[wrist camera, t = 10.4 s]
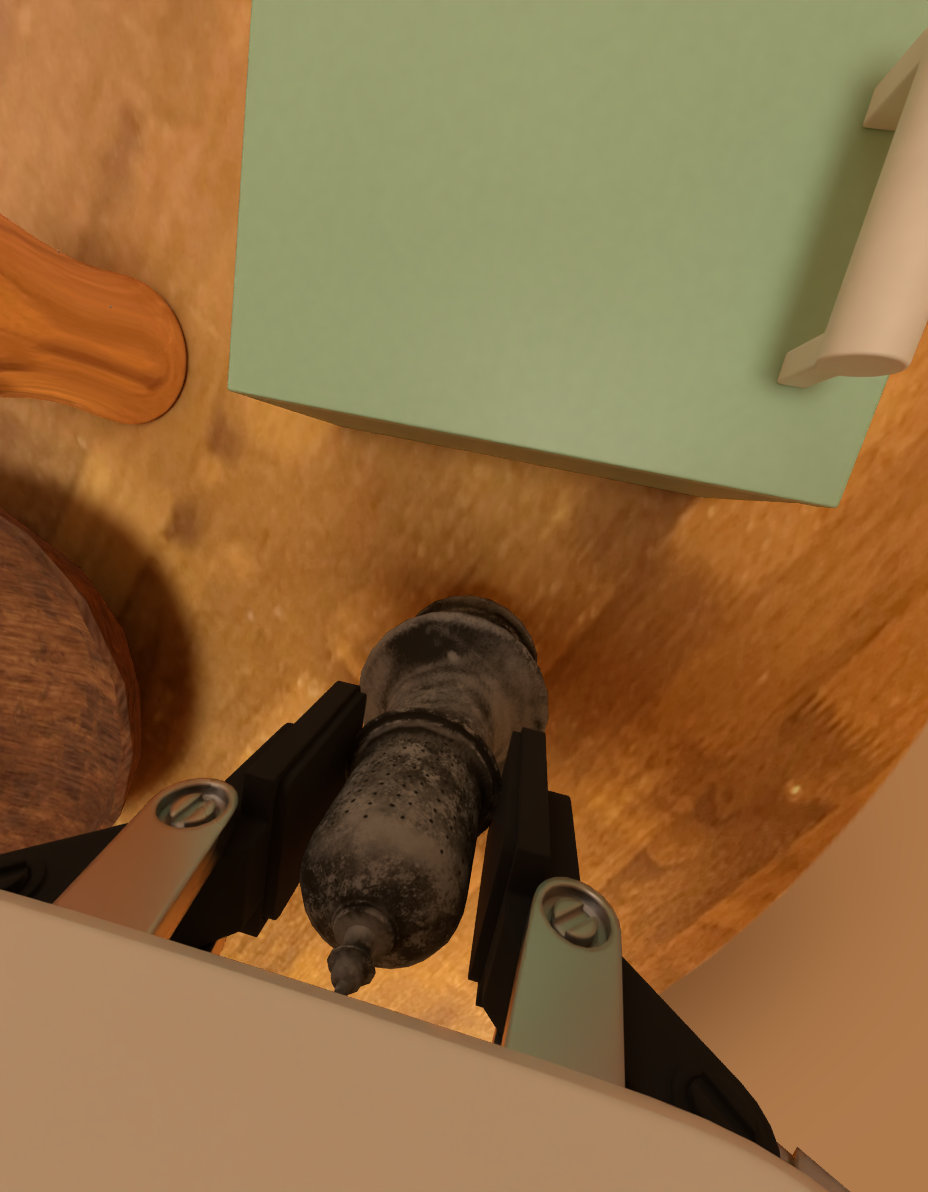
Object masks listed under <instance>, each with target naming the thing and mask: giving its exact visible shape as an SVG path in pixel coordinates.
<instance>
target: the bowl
mask: <svg viewBox="0 0 928 1192" xmlns="http://www.w3.org/2000/svg"><path fill="white" fill-rule="evenodd" d="M141 755H142V749H141V712H140V688H139V684H138V681H137V677H136V674H135V670H134V666H133V663H132V659H131V655H130V652H129V648H128V644H127V641H126V637H125V633H124V630H123V629H122V627H121V626H120V624H119V623H118V621H117V620H116V618H115V617H114V615H113V614H112V612H111V611H110V609H109V608H108V606H107V605H106V603H105V602H104V600H103V599H102V597H101V596H100V594H99V593H98V591H97V590H96V589H95V587H94V586H93V585H92V583H91V582H90V581H89V579H88V578H87V577H86V575H85V574H84V573H83V571H82V570H81V569H80V567H79V566H78V565H76V564H75V563H74V562H72V561H71V560H70V559H68V558H67V557H66V556H64V555H63V554H62V553H60V552H59V551H58V550H56V549H55V548H54V547H52V546H51V545H50V544H48V543H47V542H46V541H44V540H43V539H42V538H40V537H39V536H38V535H36V534H35V533H34V532H32V531H31V530H30V529H28V528H27V527H25V526H24V525H23V524H21V523H20V522H19V521H17V520H16V519H15V518H13V517H12V516H11V515H9V514H8V513H7V512H5V511H4V510H3V509H1V508H0V854H3V853H7V852H11V851H15V850H19V849H23V848H28V847H32V846H36V845H40V844H44V843H48V842H52V841H56V840H60V839H64V838H69V837H73V836H77V835H81V834H85V833H89V832H93V831H97V830H101V829H105V828H110V827H112V826H113V824H114V823H115V821H116V820H117V819H118V817H119V816H120V814H121V812H122V809H123V806H124V803H125V800H126V797H127V795H128V792H129V789H130V786H131V783H132V780H133V778H134V775H135V772H136V769H137V766H138V763H139V761H140V758H141Z"/></svg>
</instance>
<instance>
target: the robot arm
mask: <svg viewBox="0 0 928 1192" xmlns="http://www.w3.org/2000/svg"><path fill="white" fill-rule="evenodd" d="M366 701H367V694H366V693H362V692H361V687H360V686H358V685H354V684H350V683H346V682H342V681H337V682H336V683H335V684H334V685H333V686H332V687H331V688H330V689H329V690H328V691H327V692H326V693H325V694H324V695H323V696H322V697H321V698H320V699H319V700H318V701H317V702H316V703H315V704H314V705H313V706H312V707H311V708H310V709H309V710H308V711H307V712H306V713H305V714H303V715H302V716H301V717H300V718H299V719H298V720H297V721H296V722H295V723H294V724H293V723H286V724H285V725H284V726H282V727H281V728H280V729H279V730H278V731H277V732H276V733H275V734H274V735H273V736H272V737H271V738H270V739H269V740H268V741H267V742H265V743H264V744H263V745H262V746H261V747H260V748H259V749H258V750H257V751H256V752H255V753H254V754H253V755H252V756H251V757H250V758H249V759H248V760H246V761H245V762H244V763H243V764H242V765H241V766H240V767H239V768H238V769H237V770H236V771H235V772H234V773H233V774H232V775H231V776H230V777H229V778H228V779H226V780H225V781H221V780H217V779H212V778H197V779H189V780H185V781H182V782H178V783H175V784H173V785H171V786H169V787H167V788H165V789H163V790H161V791H160V792H159V793H158V794H157V795H155V796H154V797H153V798H152V799H151V800H150V801H149V802H148V803H147V804H146V805H145V806H144V807H143V808H142V809H141V810H140V811H139V813H138V814H137V815H136V816H135V817H134V818H133V819H132V820H131V821H130V822H129V823H126V824H122V825H118V826H114V827H110V828H105V829H101V830H97V831H93V832H89V833H85V834H81V835H77V836H73V837H69V838H64V839H60V840H56V841H52V842H48V843H44V844H40V845H36V846H32V847H28V848H23V849H19V850H15V851H11V852H7V853H3V854H0V1192H850V1191H849V1190H847V1189H846V1188H845V1187H844V1186H843V1185H842V1184H840V1183H839V1182H838V1181H837V1180H836V1179H835V1178H833V1177H832V1176H831V1175H830V1174H829V1173H827V1172H826V1171H825V1170H824V1169H823V1168H822V1167H820V1166H819V1165H818V1164H817V1163H816V1162H814V1161H813V1160H812V1159H811V1158H810V1157H809V1156H807V1155H806V1154H805V1153H804V1152H803V1151H802V1150H800V1149H799V1148H798V1147H797V1148H796V1150H795V1152H794V1154H793V1155H791V1154H790V1153H789V1152H788V1151H787V1150H786V1149H784V1148H783V1147H782V1146H781V1145H780V1144H779V1143H778V1142H776V1139H775V1137H774V1134H773V1131H772V1128H771V1126H770V1124H769V1122H768V1121H767V1119H766V1117H765V1115H764V1114H763V1112H762V1110H761V1108H760V1107H759V1105H758V1103H757V1102H756V1101H755V1100H754V1098H753V1097H752V1096H751V1095H750V1093H749V1092H748V1091H747V1090H746V1089H745V1087H744V1086H743V1085H742V1083H741V1082H740V1081H739V1080H738V1079H737V1078H736V1077H735V1076H734V1075H733V1074H732V1073H731V1072H730V1071H729V1070H728V1068H727V1067H726V1066H725V1065H724V1064H723V1063H722V1062H721V1061H720V1060H719V1059H718V1058H717V1057H716V1056H715V1055H714V1054H713V1052H712V1051H711V1050H710V1049H709V1048H708V1047H707V1046H706V1045H705V1044H704V1043H703V1042H702V1041H701V1040H700V1039H699V1038H698V1036H697V1035H696V1034H695V1033H694V1032H693V1031H692V1030H691V1029H690V1028H689V1027H688V1026H687V1025H686V1024H685V1023H684V1022H683V1021H682V1019H681V1018H680V1017H679V1016H678V1015H677V1014H676V1013H675V1012H674V1011H673V1010H672V1009H671V1008H670V1007H669V1006H668V1005H667V1004H666V1002H664V1000H663V999H662V998H661V997H660V996H659V995H658V994H657V993H656V992H655V991H654V990H653V989H652V988H651V986H650V985H649V984H648V983H647V982H646V981H645V980H644V979H643V978H642V977H641V976H640V975H639V974H638V973H637V972H636V971H635V969H634V968H633V967H632V966H631V965H630V964H629V963H628V962H627V961H626V960H625V959H624V958H623V957H622V947H621V929H620V924H619V920H618V918H617V916H616V914H615V912H614V910H613V908H612V907H611V905H610V904H609V903H608V902H607V901H606V899H605V898H604V897H603V896H602V895H601V894H599V893H598V892H597V891H596V890H595V889H593V888H592V887H590V886H588V885H587V884H585V883H583V882H581V881H580V875H579V866H578V857H577V849H576V840H575V832H574V823H573V814H572V806H571V799H570V797H569V796H567V795H563V794H559V793H555V792H552V791H548V782H547V759H546V736H545V732H541V731H537V730H533V729H529V728H525V727H523V728H522V730H521V732H517V731H513V732H512V736H511V740H510V744H509V748H508V752H507V756H506V760H505V764H504V768H503V772H502V776H501V792H500V796H499V800H498V805H497V809H496V813H495V816H494V819H493V820H492V822H491V824H490V825H489V829H488V835H487V841H486V848H485V855H484V863H483V870H482V877H481V885H480V892H479V899H478V907H477V914H476V921H475V929H474V936H473V943H472V951H471V958H470V965H469V973H468V980H472V981H475V982H478V988H477V997H476V1006H480V1007H483V1008H484V1010H485V1011H486V1013H487V1014H488V1016H489V1018H490V1019H491V1021H492V1022H493V1024H494V1026H495V1027H496V1028H495V1032H494V1036H493V1040H492V1043H490V1042H487V1041H484V1040H481V1039H478V1038H475V1037H472V1036H469V1035H466V1034H463V1033H460V1032H457V1031H454V1030H450V1029H447V1028H444V1027H441V1026H438V1025H435V1024H432V1023H429V1022H426V1021H423V1020H420V1019H417V1018H414V1017H411V1016H407V1015H404V1014H401V1013H398V1012H395V1011H392V1010H389V1009H386V1008H383V1007H380V1006H376V1005H373V1004H370V1003H367V1002H364V1001H361V1000H358V999H355V998H351V997H348V996H345V995H342V994H339V993H336V992H333V991H329V990H326V989H323V988H320V987H317V986H314V985H311V984H307V983H304V982H301V981H298V980H295V979H292V978H289V977H285V976H282V975H279V974H276V973H273V972H270V971H266V970H263V969H260V968H257V967H254V966H251V965H248V964H244V963H241V962H238V961H235V960H232V959H229V958H225V957H222V956H220V954H221V952H222V950H223V947H224V944H225V941H226V938H227V936H229V935H232V934H234V933H236V932H242V933H245V934H248V935H251V936H254V937H257V936H258V935H259V933H260V931H261V930H262V928H263V927H264V925H265V923H266V922H267V920H268V918H269V919H272V920H276V919H277V918H278V917H279V916H280V914H281V913H282V911H283V909H284V908H285V906H286V904H287V903H288V901H289V899H290V898H291V896H292V894H293V893H294V891H295V889H296V887H297V886H298V884H299V882H300V881H299V879H300V871H301V863H302V860H303V856H304V853H305V850H306V848H307V845H308V843H309V841H310V839H311V837H312V835H313V833H314V831H315V830H316V828H317V827H318V825H319V824H320V822H321V820H322V819H323V817H324V816H325V814H326V813H327V811H328V809H329V808H330V806H331V805H332V803H333V802H334V800H335V798H336V797H337V795H338V794H339V792H340V791H341V789H342V788H343V786H344V784H345V783H346V776H345V770H346V763H347V756H348V751H349V748H350V746H351V743H352V741H353V739H354V737H355V736H356V734H357V733H358V732H359V731H360V730H361V729H362V727H363V720H364V714H365V707H366Z"/></svg>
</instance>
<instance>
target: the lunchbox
mask: <svg viewBox="0 0 928 1192" xmlns="http://www.w3.org/2000/svg"><path fill="white" fill-rule="evenodd" d="M248 397H249V396H248ZM250 398H254V399H257V400H260V401H263V402H266V403H269V404H272V405H276V406H279V407H282V408H285V409H288V410H291V411H294V412H297V413H301V414H304V415H307V416H310V417H313V418H316V419H319V420H323V421H326V422H329V423H332V424H335V425H338V426H343V427H348V428H353V429H358V430H363V431H368V432H373V433H378V434H383V435H388V436H393V437H399V438H404V439H409V440H414V441H419V442H424V443H429V444H434V445H439V446H444V447H449V448H454V449H460V450H465V451H470V452H475V453H480V454H485V455H490V456H495V457H500V458H505V459H510V460H515V461H521V462H526V463H531V464H536V465H541V466H546V467H551V468H556V469H561V470H566V471H571V472H576V473H582V474H587V475H592V476H597V477H602V478H607V479H612V480H617V481H622V482H627V483H632V484H637V485H643V486H648V487H653V488H658V489H663V490H668V491H673V492H678V493H683V494H688V495H693V496H698V497H704V498H717V499H735V500H753V501H770V502H788V503H795V502H790V501H785V500H780V499H775V498H770V497H764V496H759V495H754V494H749V493H744V492H739V491H733V490H728V489H723V488H718V487H713V486H708V485H703V484H697V483H692V482H687V481H682V480H677V479H672V478H667V477H661V476H656V475H651V474H646V473H641V472H636V471H630V470H625V469H620V468H615V467H610V466H605V465H600V464H594V463H589V462H584V461H579V460H574V459H569V458H564V457H558V456H553V455H548V454H543V453H538V452H533V451H527V450H522V449H517V448H512V447H507V446H502V445H497V444H491V443H486V442H481V441H476V440H471V439H466V438H461V437H455V436H450V435H445V434H440V433H435V432H430V431H424V430H419V429H414V428H409V427H404V426H399V425H394V424H388V423H383V422H378V421H373V420H368V419H363V418H358V417H352V416H347V415H342V414H337V413H332V412H327V411H322V410H316V409H311V408H306V407H301V406H296V405H291V404H285V403H280V402H275V401H270V400H265V399H260V398H255V397H250Z"/></svg>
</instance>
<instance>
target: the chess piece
mask: <svg viewBox="0 0 928 1192" xmlns="http://www.w3.org/2000/svg"><path fill="white" fill-rule="evenodd" d="M359 686H360V687H361V692H362V693H366V694H367V701H366V707H365V714H364V720H363V723H364V727H363V728H362V729H361V730H360V731H359V732H358V733H357V734H356V736H355V737H354V739H353V741H352V743H351V746H350V748H349V751H348V756H347V763H346V770H345V776H346V783H345V784H344V786H343V788H342V789H341V791H340V792H339V794H338V795H337V797H336V798H335V800H334V802H333V803H332V805H331V806H330V808H329V809H328V811H327V813H326V814H325V816H324V817H323V819H322V820H321V822H320V824H319V825H318V827H317V828H316V830H315V831H314V833H313V835H312V837H311V839H310V841H309V843H308V845H307V848H306V850H305V853H304V856H303V860H302V863H301V871H300V879H299V881H300V886H301V892H302V897H303V902H304V907H305V911H306V913H307V915H308V917H309V920H310V922H311V924H312V926H313V927H314V928H315V930H316V931H317V932H318V933H319V935H320V936H321V937H322V938H323V940H324V941H325V942H327V943H328V944H329V945H330V946H331V947H333V948H334V949H332V951H331V953H330V955H329V957H328V959H327V962H328V967H329V971H330V972H331V981H332V984H333V986H334V988H335V991H334V992H336V993H339V994H342V995H345V996H348V995H349V994H352V993H354V992H357V991H358V989H359V988H360V987H361V986H364V985H366V984H369V983H370V982H371V980H372V979H373V977H374V975H375V973H376V972H375V967H377V968H387V969H395V968H403V967H409V966H412V965H414V964H417V963H419V962H422V961H424V960H425V959H427V958H428V957H430V956H431V955H433V954H434V953H435V952H437V951H438V950H439V949H440V948H442V947H443V946H444V945H445V944H447V943H448V941H449V940H450V938H451V937H452V935H453V934H454V932H455V930H456V929H457V927H458V925H459V922H460V920H461V918H462V916H463V913H464V909H465V905H466V900H467V896H468V890H469V883H470V877H471V871H472V865H473V859H474V853H475V847H476V840H477V837H478V836H479V835H480V834H482V833H483V832H484V831H485V830H486V829H487V828H488V827H489V825H490V824H491V822H492V820H493V819H494V816H495V813H496V809H497V805H498V800H499V796H500V792H501V776H502V772H503V768H504V764H505V760H506V756H507V752H508V748H509V744H510V740H511V736H512V732H513V731H517V732H521V730H522V728H523V727H525V728H529V729H533V730H537V731H541V732H545V729H546V725H547V722H548V692H547V689H546V686H545V683H544V679H543V676H542V673H541V670H540V668H539V666H538V665H537V653H536V650H535V646H534V643H533V640H532V637H531V635H530V634H529V632H528V631H527V629H526V628H525V626H524V625H523V623H522V622H521V620H519V619H518V618H517V617H516V616H515V615H514V614H513V613H512V612H511V611H509V610H508V609H507V608H505V607H503V606H501V605H500V604H498V603H496V602H494V601H492V600H490V599H485V598H481V597H476V596H472V595H469V596H451V597H448V598H445V599H442V600H438V601H435V602H434V603H432V604H431V605H429V606H427V607H426V608H424V609H423V610H421V611H420V612H419V613H418V614H417V615H416V616H415V617H414V618H411V619H408V620H406V621H404V622H403V623H401V624H400V625H398V626H397V627H395V628H393V629H392V630H390V631H389V632H387V633H386V634H385V635H384V637H383V638H382V639H381V640H380V641H379V642H378V643H377V645H376V646H375V647H374V648H373V649H372V650H371V652H370V654H369V656H368V658H367V660H366V663H365V665H364V667H363V669H362V671H361V677H360V684H359Z"/></svg>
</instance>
